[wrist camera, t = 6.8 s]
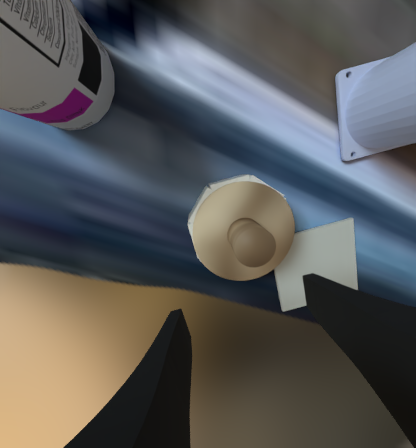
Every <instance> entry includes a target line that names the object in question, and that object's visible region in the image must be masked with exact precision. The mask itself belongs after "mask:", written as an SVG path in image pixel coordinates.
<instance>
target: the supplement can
mask: <svg viewBox="0 0 416 448" xmlns="http://www.w3.org/2000/svg"><path fill="white" fill-rule="evenodd" d="M114 93H115V84H114V71H113V68H112V65H111V62H110V59H109V55H108V53H107V51H106V50H105V48H104V47H103V45H102V44H101V43H100V41H99V40H98V38H97V37H96V35H95V34H94V32H93V31H92V30H91V28H90V27H89V26H88V24H87V23H86V21H85V20H84V19H83V17H82V16H81V14H80V13H79V12H78V10H77V9H76V7H75V6H74V5H73V3H72V2H71V0H0V109H3V110H6V111H9V112H12V113H15V114H18V115H21V116H24V117H27V118H30V119H33V120H36V121H39V122H42V123H45V124H48V125H51V126H54V127H58V128H61V129H65V130H79V129H85V128H87V127H89V126H91V125H93V124H95V123H97V122H99V121H100V120H101V118H102V117H103V116H104V115H105V114H106V113H107V111H108V110H109V108H110V105H111V102H112V99H113V96H114Z"/></svg>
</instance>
